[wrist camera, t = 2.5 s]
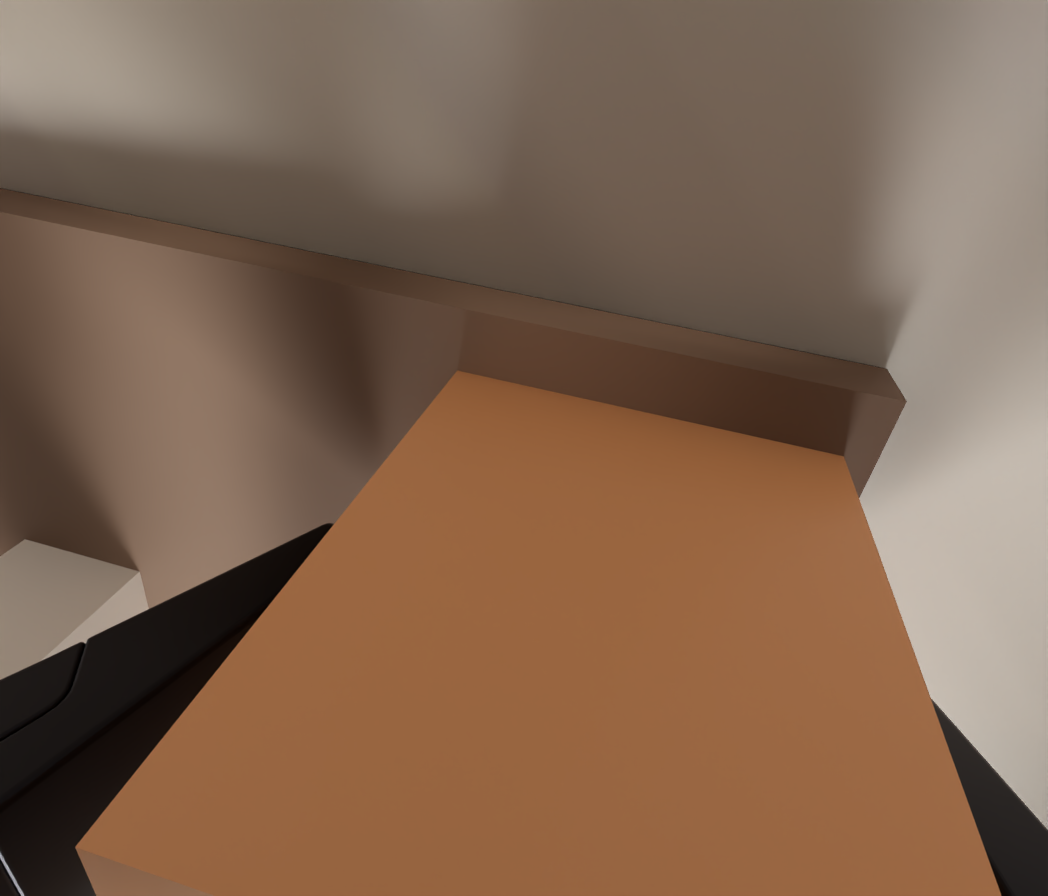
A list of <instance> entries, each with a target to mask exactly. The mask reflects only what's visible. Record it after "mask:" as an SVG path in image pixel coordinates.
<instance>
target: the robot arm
mask: <svg viewBox="0 0 1048 896" xmlns="http://www.w3.org/2000/svg"><path fill="white" fill-rule="evenodd" d="M333 525H334V524H333V523H326V524H323V525H321V526H319V527H317V528H315V529H313V530H311V531H309V532H307V533H305V534H302V535H300V536H298V537H296V538H294V539H292V540H290V541H288V542H286V543H284V544H282V545H280V546H278V547H276V548H274V549H272V550H269V551H267V552H265V553H263V554H261V555H259V556H257V557H255V558H253V559H251V560H249V561H247V562H245V563H243V564H241V565H238V566H236V567H234V568H232V569H230V570H228V571H226V572H224V573H222V574H220V575H218V576H216V577H214V578H212V579H210V580H208V581H205V582H203V583H201V584H199V585H197V586H195V587H193V588H191V589H189V590H187V591H185V592H183V593H181V594H179V595H177V596H175V597H172V598H170V599H168V600H166V601H164V602H162V603H160V604H158V605H156V606H154V607H152V608H150V609H148V610H146V611H144V612H141V613H139V614H137V615H135V616H133V617H131V618H129V619H127V620H125V621H123V622H121V623H119V624H117V625H115V626H113V627H111V628H108V629H106V630H104V631H102V632H100V633H98V634H96V635H94V636H92V637H90V638H88V639H87V641H86V644H85V643H84V642H79V643H77V644H75V645H73V646H71V647H69V648H67V649H65V650H63V651H61V652H58V653H56V654H54V655H52V656H50V657H48V658H46V659H44V660H42V661H39V662H37V663H35V664H33V665H31V666H29V667H26V668H24V669H22V670H20V671H18V672H16V673H14V674H11V675H9V676H7V677H5V678H3V679H1V680H0V896H96V894H95V891H94V889H93V887H92V885H91V882H90V880H89V878H88V875H87V873H86V871H85V869H84V866H83V864H82V862H81V859H80V857H79V855H78V853H77V850H76V848H75V847H76V845H77V844H78V843H79V842H80V840H81V839H82V838H83V837H84V835H85V834H86V833H87V832H88V830H89V829H90V828H91V827H92V825H93V824H94V823H95V822H96V821H97V819H98V818H99V817H100V816H101V814H102V813H103V812H104V811H105V809H106V808H107V807H108V806H109V804H110V803H111V802H112V801H113V799H114V798H115V797H116V796H117V794H118V793H119V792H120V791H121V789H122V788H123V787H124V786H125V784H126V783H127V782H128V781H129V779H130V778H131V777H132V776H133V774H134V773H135V772H136V771H137V769H138V768H139V767H140V766H141V764H142V763H143V762H144V761H145V759H146V758H147V757H148V756H149V754H150V753H151V752H152V751H153V749H154V748H155V747H156V746H157V744H158V743H159V742H160V741H161V739H162V738H163V737H164V736H165V734H166V733H167V732H168V731H169V729H170V728H171V727H172V726H173V724H174V723H175V722H176V721H177V719H178V718H179V717H180V716H181V714H182V713H183V712H184V711H185V709H186V708H187V707H188V706H189V705H190V703H191V702H192V701H193V700H194V698H195V697H196V696H197V695H198V693H199V692H200V691H201V690H202V688H203V687H204V686H205V685H206V683H207V682H208V681H209V680H210V678H211V677H212V676H213V675H214V673H215V672H216V671H217V670H218V668H219V667H220V666H221V665H222V663H223V662H224V661H225V660H226V658H227V657H228V656H229V655H230V653H231V652H232V651H233V650H234V648H235V647H236V646H237V645H238V643H239V642H240V641H241V640H242V638H243V637H244V636H245V635H246V633H247V632H248V631H249V630H250V628H251V627H252V626H253V625H254V623H255V622H256V621H257V620H258V618H259V617H260V616H261V615H262V613H263V612H264V611H265V610H266V608H267V607H268V606H269V605H270V603H271V602H272V601H273V600H274V598H275V597H276V596H277V595H278V593H279V592H280V591H281V590H282V588H283V587H284V586H285V585H286V584H287V582H288V581H289V580H290V579H291V577H292V576H293V575H294V574H295V572H296V571H297V570H298V569H299V567H300V566H301V565H302V564H303V562H304V561H305V560H306V559H307V557H308V556H309V555H310V554H311V552H312V551H313V550H314V549H315V547H316V546H317V545H318V544H319V542H320V541H321V540H322V539H323V537H324V536H325V535H326V534H327V532H328V531H329V530H330V529H331V527H332V526H333ZM931 701H932V704H933V706H934V709H935V712H936V715H937V717H938V720H939V723H940V726H941V729H942V731H943V734H944V737H945V740H946V743H947V745H948V748H949V751H950V754H951V756H952V759H953V762H954V765H955V768H956V770H957V773H958V776H959V779H960V781H961V784H962V787H963V790H964V793H965V795H966V798H967V801H968V804H969V807H970V809H971V812H972V815H973V818H974V820H975V823H976V826H977V829H978V832H979V834H980V837H981V840H982V843H983V846H984V848H985V851H986V854H987V857H988V859H989V862H990V865H991V868H992V871H993V873H994V876H995V879H996V882H997V885H998V887H999V890H1000V893H1001V896H1048V830H1047V829H1046V827H1045V826H1044V825H1043V824H1042V823H1041V822H1040V821H1039V820H1038V818H1037V817H1036V816H1035V815H1034V814H1033V813H1032V812H1031V811H1030V809H1029V808H1028V807H1027V806H1026V805H1025V804H1024V803H1023V801H1022V800H1021V799H1020V798H1019V797H1018V796H1017V795H1016V794H1015V792H1014V791H1013V790H1012V789H1011V788H1010V787H1009V786H1008V785H1007V783H1006V782H1005V781H1004V780H1003V779H1002V778H1001V777H1000V776H999V774H998V773H997V772H996V771H995V770H994V769H993V768H992V767H991V765H990V764H989V763H988V762H987V761H986V760H985V759H984V757H983V756H982V755H981V754H980V753H979V752H978V751H977V750H976V748H975V747H974V746H973V745H972V744H971V743H970V742H969V741H968V739H967V738H966V737H965V736H964V735H963V734H962V733H961V732H960V730H959V729H958V728H957V727H956V726H955V725H954V724H953V723H952V721H951V720H950V719H949V718H948V717H947V716H946V715H945V713H944V712H943V711H942V710H941V709H940V708H939V707H938V706H937V704H936V703H935V702H934V701H933V700H932V699H931Z"/></svg>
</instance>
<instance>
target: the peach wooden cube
mask: <svg viewBox="0 0 1048 896" xmlns="http://www.w3.org/2000/svg"><path fill="white" fill-rule="evenodd" d="M75 848H76V850H77V853H78V855H79V857H80V859H81V862H82V864H83V866H84V869H85V871H86V873H87V875H88V878H89V880H90V882H91V885H92V887H93V889H94V891H95V894H96V896H1001V893H1000V890H999V887H998V885H997V882H996V879H995V876H994V873H993V871H992V868H991V865H990V862H989V859H988V857H987V854H986V851H985V848H984V846H983V843H982V840H981V837H980V834H979V832H978V829H977V826H976V823H975V820H974V818H973V815H972V812H971V809H970V807H969V804H968V801H967V798H966V795H965V793H964V790H963V787H962V784H961V781H960V779H959V776H958V773H957V770H956V768H955V765H954V762H953V759H952V756H951V754H950V751H949V748H948V745H947V743H946V740H945V737H944V734H943V731H942V729H941V726H940V723H939V720H938V717H937V715H936V712H935V709H934V706H933V704H932V701H931V698H930V695H929V692H928V690H927V687H926V684H925V681H924V678H923V676H922V673H921V670H920V667H919V665H918V662H917V659H916V656H915V653H914V651H913V648H912V645H911V642H910V639H909V637H908V634H907V631H906V628H905V626H904V623H903V620H902V617H901V614H900V612H899V609H898V606H897V603H896V600H895V598H894V595H893V592H892V589H891V587H890V584H889V581H888V578H887V575H886V573H885V570H884V567H883V564H882V562H881V559H880V556H879V553H878V550H877V548H876V545H875V542H874V539H873V536H872V534H871V531H870V528H869V525H868V523H867V520H866V517H865V514H864V511H863V509H862V506H861V503H860V500H859V497H858V495H857V492H856V489H855V486H854V484H853V481H852V478H851V475H850V472H849V470H848V467H847V464H846V461H845V458H844V456H840V455H835V454H831V453H826V452H822V451H817V450H813V449H808V448H804V447H799V446H795V445H790V444H786V443H781V442H777V441H772V440H768V439H763V438H759V437H754V436H750V435H745V434H741V433H736V432H732V431H727V430H723V429H718V428H714V427H709V426H705V425H700V424H696V423H691V422H687V421H682V420H678V419H673V418H669V417H664V416H660V415H655V414H651V413H646V412H642V411H637V410H633V409H628V408H624V407H619V406H615V405H610V404H606V403H601V402H597V401H592V400H588V399H583V398H579V397H574V396H570V395H565V394H561V393H556V392H552V391H547V390H543V389H538V388H534V387H529V386H525V385H520V384H516V383H511V382H507V381H502V380H498V379H493V378H489V377H484V376H480V375H475V374H471V373H466V372H462V371H456V373H455V374H454V375H453V376H452V378H451V379H450V380H449V381H448V383H447V384H446V385H445V386H444V388H443V389H442V390H441V391H440V393H439V394H438V395H437V396H436V398H435V399H434V400H433V401H432V403H431V404H430V405H429V406H428V408H427V409H426V410H425V411H424V413H423V414H422V415H421V416H420V418H419V419H418V420H417V421H416V423H415V424H414V425H413V426H412V428H411V429H410V430H409V431H408V433H407V434H406V435H405V436H404V438H403V439H402V440H401V441H400V443H399V444H398V445H397V446H396V448H395V449H394V450H393V451H392V453H391V454H390V455H389V456H388V458H387V459H386V460H385V461H384V463H383V464H382V465H381V466H380V468H379V469H378V470H377V471H376V472H375V474H374V475H373V476H372V477H371V479H370V480H369V481H368V482H367V484H366V485H365V486H364V487H363V489H362V490H361V491H360V492H359V494H358V495H357V496H356V497H355V499H354V500H353V501H352V502H351V504H350V505H349V506H348V507H347V509H346V510H345V511H344V512H343V514H342V515H341V516H340V517H339V519H338V520H337V521H336V522H335V524H334V525H333V526H332V527H331V529H330V530H329V531H328V532H327V534H326V535H325V536H324V537H323V539H322V540H321V541H320V542H319V544H318V545H317V546H316V547H315V549H314V550H313V551H312V552H311V554H310V555H309V556H308V557H307V559H306V560H305V561H304V562H303V564H302V565H301V566H300V567H299V569H298V570H297V571H296V572H295V574H294V575H293V576H292V577H291V579H290V580H289V581H288V582H287V584H286V585H285V586H284V587H283V588H282V590H281V591H280V592H279V593H278V595H277V596H276V597H275V598H274V600H273V601H272V602H271V603H270V605H269V606H268V607H267V608H266V610H265V611H264V612H263V613H262V615H261V616H260V617H259V618H258V620H257V621H256V622H255V623H254V625H253V626H252V627H251V628H250V630H249V631H248V632H247V633H246V635H245V636H244V637H243V638H242V640H241V641H240V642H239V643H238V645H237V646H236V647H235V648H234V650H233V651H232V652H231V653H230V655H229V656H228V657H227V658H226V660H225V661H224V662H223V663H222V665H221V666H220V667H219V668H218V670H217V671H216V672H215V673H214V675H213V676H212V677H211V678H210V680H209V681H208V682H207V683H206V685H205V686H204V687H203V688H202V690H201V691H200V692H199V693H198V695H197V696H196V697H195V698H194V700H193V701H192V702H191V703H190V705H189V706H188V707H187V708H186V709H185V711H184V712H183V713H182V714H181V716H180V717H179V718H178V719H177V721H176V722H175V723H174V724H173V726H172V727H171V728H170V729H169V731H168V732H167V733H166V734H165V736H164V737H163V738H162V739H161V741H160V742H159V743H158V744H157V746H156V747H155V748H154V749H153V751H152V752H151V753H150V754H149V756H148V757H147V758H146V759H145V761H144V762H143V763H142V764H141V766H140V767H139V768H138V769H137V771H136V772H135V773H134V774H133V776H132V777H131V778H130V779H129V781H128V782H127V783H126V784H125V786H124V787H123V788H122V789H121V791H120V792H119V793H118V794H117V796H116V797H115V798H114V799H113V801H112V802H111V803H110V804H109V806H108V807H107V808H106V809H105V811H104V812H103V813H102V814H101V816H100V817H99V818H98V819H97V821H96V822H95V823H94V824H93V825H92V827H91V828H90V829H89V830H88V832H87V833H86V834H85V835H84V837H83V838H82V839H81V840H80V842H79V843H78V844H77V845H76V847H75Z"/></svg>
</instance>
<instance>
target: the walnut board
mask: <svg viewBox="0 0 1048 896" xmlns="http://www.w3.org/2000/svg"><path fill="white" fill-rule="evenodd" d="M456 371H462V372H466V373H471V374H475V375H480V376H484V377H489V378H493V379H498V380H502V381H507V382H511V383H516V384H520V385H525V386H529V387H534V388H538V389H543V390H547V391H552V392H556V393H561V394H565V395H570V396H574V397H579V398H583V399H588V400H592V401H597V402H601V403H606V404H610V405H615V406H619V407H624V408H628V409H633V410H637V411H642V412H646V413H651V414H655V415H660V416H664V417H669V418H673V419H678V420H682V421H687V422H691V423H696V424H700V425H705V426H709V427H714V428H718V429H723V430H727V431H732V432H736V433H741V434H745V435H750V436H754V437H759V438H763V439H768V440H772V441H777V442H781V443H786V444H790V445H795V446H799V447H804V448H808V449H813V450H817V451H822V452H826V453H831V454H835V455H840V456H844V458H845V461H846V464H847V467H848V470H849V472H850V475H851V478H852V481H853V484H854V486H855V489H856V492H857V495H858V497H860V495H861V493H862V491H863V489H864V487H865V485H866V483H867V481H868V479H869V477H870V475H871V473H872V471H873V469H874V467H875V465H876V463H877V461H878V459H879V457H880V455H881V453H882V450H883V448H884V446H885V444H886V442H887V440H888V438H889V436H890V434H891V432H892V430H893V428H894V426H895V424H896V422H897V420H898V418H899V416H900V414H901V412H902V410H903V408H904V406H905V404H906V402H907V401H906V400H905V398H904V396H903V395H902V393H901V391H900V390H899V388H898V386H897V385H896V383H895V381H894V380H893V378H892V377H891V375H890V373H889V372H888V370H887V369H884V368H879V367H874V366H869V365H865V364H860V363H855V362H850V361H845V360H840V359H835V358H830V357H825V356H820V355H815V354H811V353H806V352H801V351H796V350H791V349H786V348H781V347H776V346H771V345H766V344H762V343H757V342H752V341H747V340H742V339H737V338H732V337H727V336H722V335H717V334H712V333H708V332H703V331H698V330H693V329H688V328H683V327H678V326H673V325H668V324H663V323H658V322H654V321H649V320H644V319H639V318H634V317H629V316H624V315H619V314H614V313H609V312H605V311H600V310H595V309H590V308H585V307H580V306H575V305H570V304H565V303H560V302H555V301H551V300H546V299H541V298H536V297H531V296H526V295H521V294H516V293H511V292H506V291H501V290H497V289H492V288H487V287H482V286H477V285H472V284H467V283H462V282H457V281H452V280H447V279H443V278H438V277H433V276H428V275H423V274H418V273H413V272H408V271H403V270H398V269H394V268H389V267H384V266H379V265H374V264H369V263H364V262H359V261H354V260H349V259H344V258H340V257H335V256H330V255H325V254H320V253H315V252H310V251H305V250H300V249H295V248H290V247H286V246H281V245H276V244H271V243H266V242H261V241H256V240H251V239H246V238H241V237H237V236H232V235H227V234H222V233H217V232H212V231H207V230H202V229H197V228H192V227H187V226H183V225H178V224H173V223H168V222H163V221H158V220H153V219H148V218H143V217H138V216H133V215H129V214H124V213H119V212H114V211H109V210H104V209H99V208H94V207H89V206H84V205H79V204H75V203H70V202H65V201H60V200H55V199H50V198H45V197H40V196H35V195H30V194H26V193H21V192H16V191H11V190H6V189H1V188H0V556H2V555H3V554H4V553H6V552H7V551H9V550H10V549H12V548H13V547H14V546H16V545H17V544H19V543H20V542H22V541H23V540H24V539H26V540H30V541H33V542H37V543H40V544H44V545H47V546H51V547H54V548H58V549H61V550H65V551H69V552H72V553H76V554H79V555H83V556H86V557H90V558H93V559H97V560H100V561H104V562H108V563H111V564H115V565H118V566H122V567H125V568H129V569H132V570H136V571H139V572H140V575H141V579H142V583H143V587H144V592H145V596H146V600H147V604H148V608H149V609H150V608H152V607H154V606H156V605H158V604H160V603H162V602H164V601H166V600H168V599H170V598H172V597H175V596H177V595H179V594H181V593H183V592H185V591H187V590H189V589H191V588H193V587H195V586H197V585H199V584H201V583H203V582H205V581H208V580H210V579H212V578H214V577H216V576H218V575H220V574H222V573H224V572H226V571H228V570H230V569H232V568H234V567H236V566H238V565H241V564H243V563H245V562H247V561H249V560H251V559H253V558H255V557H257V556H259V555H261V554H263V553H265V552H267V551H269V550H272V549H274V548H276V547H278V546H280V545H282V544H284V543H286V542H288V541H290V540H292V539H294V538H296V537H298V536H300V535H302V534H305V533H307V532H309V531H311V530H313V529H315V528H317V527H319V526H321V525H323V524H326V523H333V524H335V522H336V521H337V520H338V519H339V517H340V516H341V515H342V514H343V512H344V511H345V510H346V509H347V507H348V506H349V505H350V504H351V502H352V501H353V500H354V499H355V497H356V496H357V495H358V494H359V492H360V491H361V490H362V489H363V487H364V486H365V485H366V484H367V482H368V481H369V480H370V479H371V477H372V476H373V475H374V474H375V472H376V471H377V470H378V469H379V468H380V466H381V465H382V464H383V463H384V461H385V460H386V459H387V458H388V456H389V455H390V454H391V453H392V451H393V450H394V449H395V448H396V446H397V445H398V444H399V443H400V441H401V440H402V439H403V438H404V436H405V435H406V434H407V433H408V431H409V430H410V429H411V428H412V426H413V425H414V424H415V423H416V421H417V420H418V419H419V418H420V416H421V415H422V414H423V413H424V411H425V410H426V409H427V408H428V406H429V405H430V404H431V403H432V401H433V400H434V399H435V398H436V396H437V395H438V394H439V393H440V391H441V390H442V389H443V388H444V386H445V385H446V384H447V383H448V381H449V380H450V379H451V378H452V376H453V375H454V374H455V373H456Z"/></svg>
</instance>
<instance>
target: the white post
mask: <svg viewBox="0 0 1048 896" xmlns="http://www.w3.org/2000/svg"><path fill="white" fill-rule="evenodd" d="M148 609H149V608H148V604H147V600H146V596H145V592H144V587H143V583H142V579H141V575H140V572H139V571H136V570H132V569H129V568H125V567H122V566H118V565H115V564H111V563H108V562H104V561H100V560H97V559H93V558H90V557H86V556H83V555H79V554H76V553H72V552H69V551H65V550H61V549H58V548H54V547H51V546H47V545H44V544H40V543H37V542H33V541H30V540H26V539H24V540H23V541H22V542H20V543H19V544H17V545H16V546H14V547H13V548H12V549H10V550H9V551H7V552H6V553H4V554H3V555H2V556H0V680H1V679H3V678H5V677H7V676H9V675H11V674H14V673H16V672H18V671H20V670H22V669H24V668H26V667H29V666H31V665H33V664H35V663H37V662H39V661H42V660H44V659H46V658H48V657H50V656H52V655H54V654H56V653H58V652H61V651H63V650H65V649H67V648H69V647H71V646H73V645H75V644H77V643H79V642H84V643H85V644H86V641H87V639H88V638H90V637H92V636H94V635H96V634H98V633H100V632H102V631H104V630H106V629H108V628H111V627H113V626H115V625H117V624H119V623H121V622H123V621H125V620H127V619H129V618H131V617H133V616H135V615H137V614H139V613H141V612H144V611H146V610H148Z"/></svg>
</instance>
